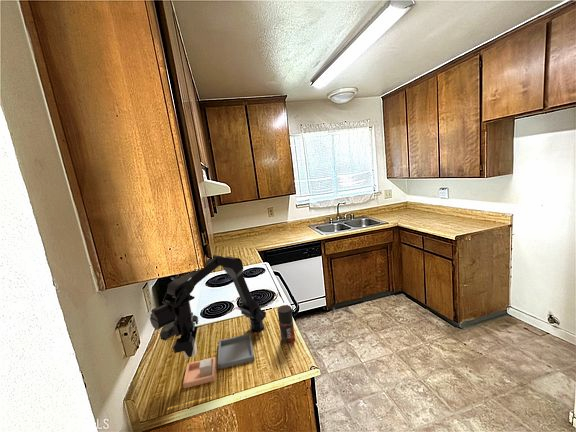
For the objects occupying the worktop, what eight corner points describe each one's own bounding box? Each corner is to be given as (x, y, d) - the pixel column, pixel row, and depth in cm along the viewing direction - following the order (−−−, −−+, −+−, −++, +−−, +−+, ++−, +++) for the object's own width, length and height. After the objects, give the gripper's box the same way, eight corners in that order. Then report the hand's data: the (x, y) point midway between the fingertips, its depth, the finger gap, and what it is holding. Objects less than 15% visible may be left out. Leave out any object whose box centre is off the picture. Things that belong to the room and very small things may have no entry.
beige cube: (186, 351, 102) (184, 342, 102) (197, 349, 103) (195, 339, 102) (184, 358, 98) (182, 348, 98) (195, 356, 99) (194, 346, 98)
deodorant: (286, 346, 113) (282, 314, 111) (278, 340, 118) (274, 309, 116) (297, 340, 117) (294, 308, 114) (289, 334, 122) (286, 303, 119)
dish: (188, 368, 107) (187, 363, 106) (216, 362, 109) (215, 356, 109) (184, 389, 96) (182, 383, 96) (215, 381, 99) (214, 376, 98)
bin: (219, 345, 119) (218, 340, 119) (251, 338, 122) (250, 333, 122) (218, 370, 104) (217, 365, 104) (254, 361, 107) (253, 356, 106)
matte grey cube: (202, 369, 105) (200, 360, 104) (212, 367, 105) (211, 358, 105) (201, 377, 101) (199, 367, 100) (212, 374, 102) (210, 365, 101)
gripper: (165, 307, 105) (173, 343, 108) (152, 334, 87) (162, 376, 90) (195, 301, 108) (201, 336, 110) (188, 326, 89) (196, 368, 92)
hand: (190, 353), depth 101 cm, fingers closed on beige cube, 4 cm apart
